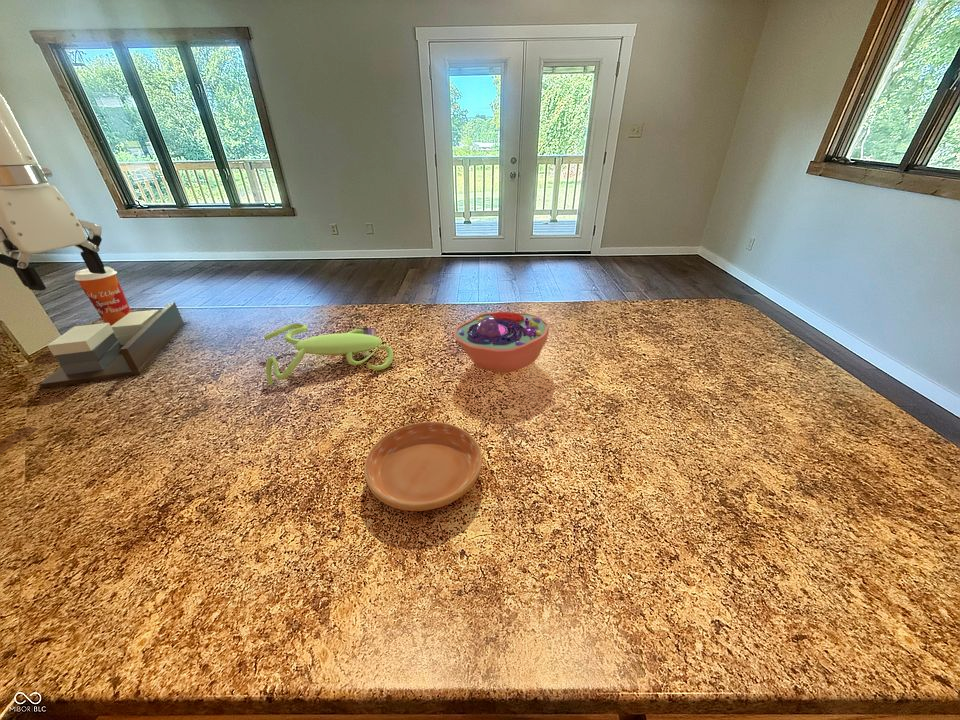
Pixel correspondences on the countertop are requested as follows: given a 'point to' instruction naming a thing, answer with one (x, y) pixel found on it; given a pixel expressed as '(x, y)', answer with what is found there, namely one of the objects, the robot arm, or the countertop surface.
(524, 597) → the countertop surface
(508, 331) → the cell model
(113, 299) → the paper cup
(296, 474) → the countertop surface
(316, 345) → the figurine
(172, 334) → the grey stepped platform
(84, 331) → the cream flat block
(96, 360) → the grey stack
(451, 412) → the countertop surface
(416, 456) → the saucer
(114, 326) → the white stack
